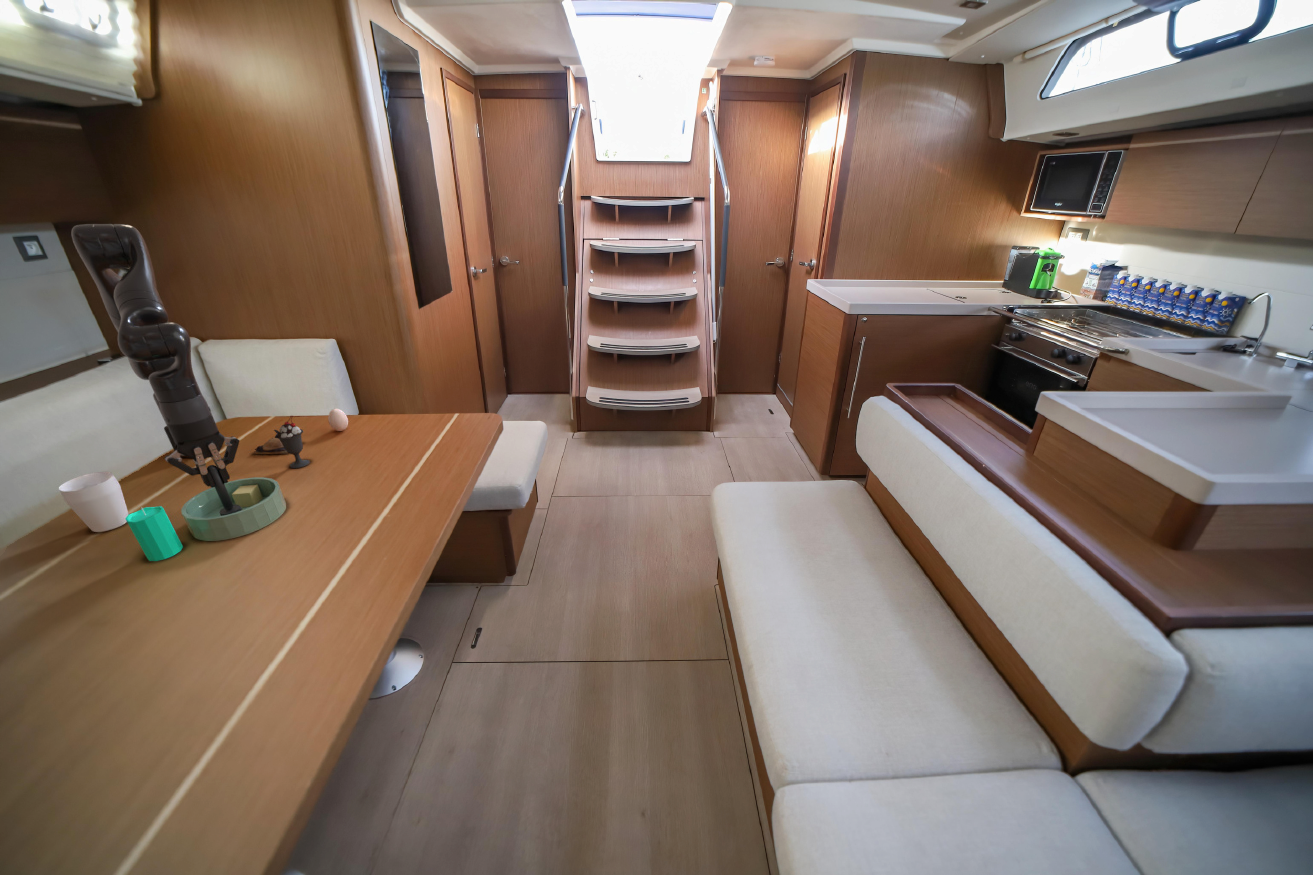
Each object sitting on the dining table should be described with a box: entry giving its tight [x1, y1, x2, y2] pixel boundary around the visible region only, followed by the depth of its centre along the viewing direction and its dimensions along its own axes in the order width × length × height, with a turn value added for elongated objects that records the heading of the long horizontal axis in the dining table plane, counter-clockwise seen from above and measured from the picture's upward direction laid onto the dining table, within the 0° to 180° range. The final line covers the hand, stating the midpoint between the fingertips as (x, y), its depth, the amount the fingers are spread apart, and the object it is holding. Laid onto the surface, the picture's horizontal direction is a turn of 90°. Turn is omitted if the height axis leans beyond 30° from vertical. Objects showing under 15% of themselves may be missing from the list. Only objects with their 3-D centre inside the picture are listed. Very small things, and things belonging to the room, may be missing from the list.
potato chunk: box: [232, 485, 263, 507], centre depth 127 cm, size 4×4×4 cm
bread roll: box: [254, 437, 289, 455], centre depth 155 cm, size 11×8×4 cm
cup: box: [58, 471, 130, 533], centre depth 117 cm, size 9×9×12 cm
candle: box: [126, 505, 184, 562], centre depth 108 cm, size 6×6×12 cm
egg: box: [327, 408, 349, 432], centre depth 166 cm, size 6×6×8 cm
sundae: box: [273, 415, 310, 469], centre depth 144 cm, size 7×7×15 cm
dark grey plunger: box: [206, 464, 242, 516], centre depth 117 cm, size 4×4×14 cm
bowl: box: [180, 476, 287, 542], centre depth 122 cm, size 19×19×6 cm
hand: (218, 483), depth 116 cm, fingers closed on dark grey plunger, 2 cm apart
